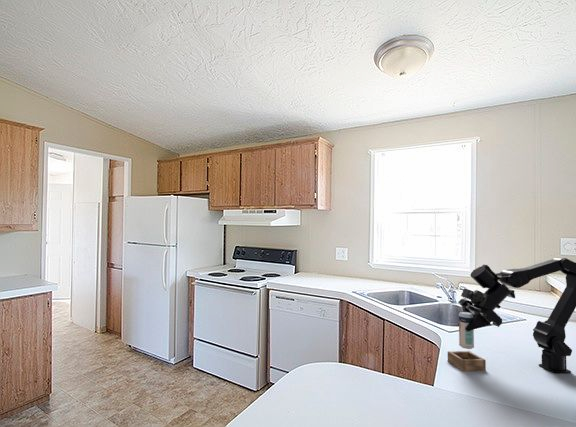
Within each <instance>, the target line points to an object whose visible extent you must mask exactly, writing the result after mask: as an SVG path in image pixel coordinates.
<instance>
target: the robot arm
mask: <svg viewBox="0 0 576 427" xmlns="http://www.w3.org/2000/svg"><path fill="white" fill-rule="evenodd" d="M557 272H561V273H562V274H564V275H566V276H565V284H566V285H565V288H564V290H563V292H562V294H561V295H560V297H559V299H558V301H557V303H556V305H555V306H554V307H553V310H552V312H551V313H550V315H549V317H548V319H546V320H545V321H540V320H538V321H537V322H536V325H535V327H534V328H533V329H532V331H533V333H532V337H533V340H534V341H535V342H536V345H537V346H538V348H541V349H542V350H541V363H539V364H538V366H539V367H541V368H542V369H543V368H544V369H545V370H548V371H550V372H552V373H555V374H563V373H566V374H568V373H572V371H571V370H570V369H567V357H570V356H571V355H572V352H573V349H572V348H571V347H569V345H568V344H566V343H565V342H566V341H565V340H566V335H567V334H566V326H567V324H568V322H570V321H569V320H570V318H571V317H572V315H573V313H574V311H575V310H576V262H575V261H573V260H571V259H568V258H567V257H554V258H552V259H548V260H546V261H543V262H542V261H541V262H540V263H536V264H533V265H529V266H527V267H523V268H521V267H520V268H509V269H503V270H501V271H500V272H497V273H496V272H494V271H493V270H492V269H491V267H490V266H489V265H488V264H482V265H481V266H479V267H477V268H475V269H473V270H472V272H470V277H471V279H473V280H474V281H475V282H476V283H477V284H478V285H479V286H480V287H481V288H482V289H486V291H484V292H482V291H480V290H478V289H475V290H474V291H473V290H471V289H469V288H463V290H462V292H461V295H460V297H462V298H460V299H459V301H458V303H457V304H459V305H460V306H461V308H462V312H469V313H472V315H473V319H472V320H471V321H470V323H469V324H468V325H467V327H466V328H465V330H466V331H471V330H476V329H480V328H483V327H484V328H485V327H487V326H492V325H493V326H496V327H497V328H499V327H500V326H501V325H502V324H503V319H502V317H501V316H499V315H498V314H497V313H496V311H495V310H496V309H501V307H502V306H501V305H500V304H502V303H503V301H504V300H505V299H506V298H507V297H509V298H512V299H516V294H515V290H513V289H509V287H511V288H515V289H518V288H519V289H520V288H522V287H524V286H526V285H528V284H529V283H530V282H532V280H534V279H538V278H540V277H544V276H547V275H550V274H554V273H557ZM465 298H466V299H465ZM457 326H458V327H459V322H458V324H457Z"/></svg>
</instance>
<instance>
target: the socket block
mask: <svg viewBox="0 0 576 427" xmlns="http://www.w3.org/2000/svg"><path fill="white" fill-rule="evenodd" d="M447 362H448V363H450V364H451V365H453V366H454V367H456V368H457V369H459V370H461V371H462V372H470V371H471V372H472V371H473V372H474V371H475V372H476V371H487V370H486V367H487V366H486V364H487V363H486V362H487V361H486V359H485V358H483V357H481V356H479V355H478V354H476V353H473V352H472V351H469V350H453V351H452V350H451V351H447Z"/></svg>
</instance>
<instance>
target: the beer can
mask: <svg viewBox="0 0 576 427" xmlns="http://www.w3.org/2000/svg"><path fill="white" fill-rule="evenodd" d="M472 319H473V315H472V313H469V312H463V311H460V312H459V313H458V323H459V326H458V333H459V334H458V341H459V342H458V343H459V344H458V345H459V347H460V348H462V349H467V350H472V349H475V335H474V334H475V332H474V330H475V329H474V330H471V331H466V330H465V328H466V327H467V325H468V324H469V323H470V321H471V320H472Z"/></svg>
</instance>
